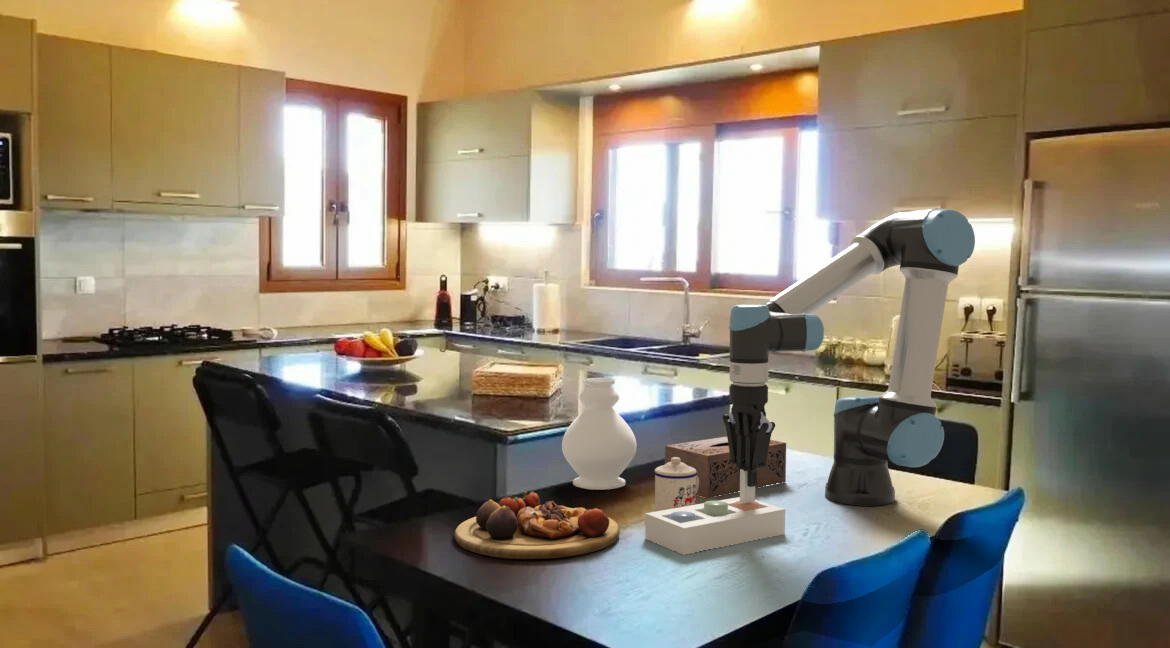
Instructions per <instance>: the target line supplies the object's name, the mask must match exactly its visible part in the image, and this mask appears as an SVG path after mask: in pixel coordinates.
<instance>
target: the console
mask: <svg viewBox="0 0 1170 648" xmlns="http://www.w3.org/2000/svg"><path fill="white" fill-rule="evenodd" d="M718 501H723V502H726V503H728V514H727V515H722V516H716V517H713V516H710V515H707V514H704V502H703V503H698V504H697V503H696V505H691V506H685V507H679V508H673V509H668V510H662V511H651V512H645V514H644V515H645V517H644V518H645V519H644V521H645V523H644V524H645V525H644V530H645V531H644V532H645V533H644V534H645V535H644V537H645V538H644V540H647V541H649V540H650V541H649V542H651V541H652V542H651V543H654V544H656V543H657V545H658V544H659V545H658V546H662V547H663V548H665V549H669V550H670V551H673V552H675V551H676V552H675V553H678V554H680V555H682V556H687V555H690V553H692V554H696V553H695V552H697V553H700V552H699V551H702V552H704V551H703V550H706V551H709V550H708V549H711V550H714V549H713V548H716V549H719V547H721V548H725V546H726V547H730V546H729V545H731V546H735V545H740V544H745V543H749V541H750V542H754V540H755V541H758V539H760V540H763V539H762V538H764V539H768V538H767V537H769V538H774V537H779V536H783V535H786V530H785V529H786V508H783V507H779V506H777V505H773V504H771V503H767V502H764V501H761V500H757V499H755V502H758V503H759V509H754V510H749V511H744V510H741V509H738V508H735V502H737V501H740V496H738V497H737V496H736V497H731V498H727V499H721V500H718ZM679 511H685V512H692V513H694V514H695V521H689V522H684V523H679V522H676V521H674V520H671V513H673V512H679ZM773 536H774V537H773ZM744 542H745V543H744ZM739 543H740V544H739ZM734 544H735V545H734ZM686 554H687V555H686Z"/></svg>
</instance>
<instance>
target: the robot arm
mask: <svg viewBox="0 0 1170 648" xmlns="http://www.w3.org/2000/svg"><path fill="white" fill-rule="evenodd" d="M975 237H976V236H975V231H974V228H973V226H972V224H971V223H970V222H969V219H968V218H967V217H966V215H964V214H963V213H961V212H959V211H958V210H955V209H950V208H937V207H935V208H933V209H931V208H930V209H922V210H921V209H920V210H904V211H903V210H902V211H899V212H895V213H893V214H890V215H889V216H886V217H885V218H883V219H882V220H880V221H878V222H876V223H874V224H873V225H871V226H870V227H868V228H867V229H866V230H864V231H862V232H861V233H859V234H858V235H856V236H855V237H854V238H852V240H851V242H850V246H847V248H845V249H844V250H842V251H841V252H839V253H837V254H836V255H835V256H833V257H832V258H830V259H829V260H827V261H826V262H825V263H823V264H821V265H819V267H817V268H815V269H813V271H811V272H810V273H808V274H807V275H805V276H803V277H802V278H801V279H799V280H797V281H796V282H795V283H793V284H792V285H790V286H788V287H787V288H785V289H783V291H781V292H780V293H778V294H777V295H775V296H774V297H773V298H771V299H770V300H767V301H766V302H765V303H763V304H735V305H734V306H732V308H731V310H730V316H729V326H728V328H729V381H730V382H732V383H730V384H729V387H728V389H729V391H728V392H729V393H728V397H729V398H728V401H729V402H730V403H731V404H732V405H731V409H730V412H729V413H728V414H727V413H726V414H723V415H722V421H723V424H724V426H725V430H726V436H727V438H728V445H729V452H730V459H731V463H733V464H734V463H735V464H736V465H737V467H738V469H739V474H738V481H739V484H740V492H739V497H740V502H742V503H750V502H755V500H756V489H755V486H756V485H757V470H758V469H760V468H764V467H765V465H766V460H767V454H768V449H769V444H770V440H771V438H772V433H773V431H774V430H775V427H776V423H775V422H774V421H769V419H768V418H767V412H766V409H765V406H766V404H768V402H769V386H768V384H766V383H768V382H769V356H770V355H769V354H770V353H775V352H776V353H779V352H780V353H781V352H785V353H786V352H803V353H805V352H807V351H808V352H809V351H815V350H817V349H819V348H820V347H821V345H822V344H823V341H824V338H825V333H824V332H825V328H824V325H823V321H822V320H821V318H820V317H819V316H818V315H817V314H815V313H816V311H818V310H819V309H821V308H822V307H824V306H825V305H827V304H828V303H830V302H831V301H832V300H835V299H836V298H837V297H839V296H841V294H843V293H844V292H846V291H847V290H849V289H850V288H852V287H853V286H855V285H856V284H858V283H859V282H861V281H862V280H863V279H864V280H865V278H867V277H868V276H869V275H880V274H881V273H882V272H883V271H885V270H886V269H889V268H892V267H896V266H899V271H900V272H901V274H903V276H904V279H905V280H904V286H903V294H902V301H901V307H900V312H899V319H898V325H897V331H896V338H895V343H894V350H893V356H892V363H891V368H890V374H889V375H890V376H889V382H888V388H887V390H886V391H885V392H883V393H882V394H880V395H870V396H869V395H865V396H846V397H840V398H838V399H837V400H836V402H835V404H834V411H833V417H834V418H833V420H834V421H833V423H834V424H833V464H832V466H831V469H830V472H829V475H828V479H827V482H826V483H825V487H824V488H825V490H824V492H825V493H824V496H825V498H826V499H828V500H830V501H833V502H837V503H840V504H846V505H851V506H863V507H864V506H865V507H867V506H869V507H873V506H874V507H875V506H884V505H889V504H892V503H894V502H895V499H896V498H895V497H896V490H895V487H894V486H893V483H892V478H891V474H890V471H889V470H890V469H889V466H888V462H891V463H893V464H895V465H897V466H903V467H908V468H920V467H923V466H925V465H928V464H929V463H930V462H931V461H932V460H934V459H935V458H936V457H937V456H938V455H939V453H940V452H941V450H942V447H943V445H944V440H945V430H944V427H943V426H942V422H941V420H940V419H939V418H938V417H937V416H936V412H937V404H936V402H935V401H934V399H932V396H931V395H932V390H933V389H932V388H933V383H934V376H935V370H936V365H937V357H938V353H939V352H938V351H939V345H940V340H941V339H940V338H941V332H942V326H943V320H944V314H945V307H946V301H947V294H948V289H949V288H948V287H949V285H950V283H951V282H952V281H954V280H955V279H956V278H957V277H958V275H959V274H958V273H959V269H960V266H961V265H963V264H964V263H966V262H967V261H968V259H971V257H972V254H973V253H974V250H975V246H976V245H975V244H976V238H975ZM736 456H737V457H736Z"/></svg>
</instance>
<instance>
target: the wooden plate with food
mask: <svg viewBox="0 0 1170 648" xmlns="http://www.w3.org/2000/svg"><path fill="white" fill-rule="evenodd" d="M620 532H621V530H620V526H619V524H618V523H617V522H616V521H615V520H614V519H612V518H611V517H609V516H607V515H606V513H604V510H603V509H599V508H594V507H593V508H591V509H589V508H587V509H586V508H585V507H574V508H573V507H567V506H564V505H558V504H557V503H555V501H554V500H547V501H545V503H544V504H541V500H540V497H539V495H538V493H536V492H534V490H532V491H530V490H527V491H525V492H523V493H522V494H521V497H519V496H514V495H512V496H505V495H504V496H503V497H502V499H500V500H498V502H497V501H494V500H493V499H492V498H491V499H490V498H489V500H487V501H486V502H484V503H483V504H482V505H481V506H480V507H479V508H478V510H477V512H476V516H474V517H471V518H468V519H467V520H464V521H463V522H461V523H460V524H459V525H458V526H457V527H456V529H455V530H454V539H455V541H456V543H457V544H458V545H459V546H460V547H461V548H463V549H464V550H467V551H470V552H471V553H476V554H477V555H478V554H479V555H483V556H488V557H494V558H500V559H514V560H547V559H549V560H550V559H560V558H569V557H575V556H580V555H581V556H582V555H585V554H590V553H594V552H597V551H599V550H602V549H604V548H607V547H608V546H610V545H612V544H614V543H615V542H616V541H617V540H618V539H619V537H620Z"/></svg>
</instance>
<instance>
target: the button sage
mask: <svg viewBox="0 0 1170 648" xmlns="http://www.w3.org/2000/svg"><path fill="white" fill-rule="evenodd" d="M703 503H704V514H707V515H710V516H713V517H716V516H722V515H727V514H728V503H726V502H723V501H719V500H706V501H704V502H703Z"/></svg>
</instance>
